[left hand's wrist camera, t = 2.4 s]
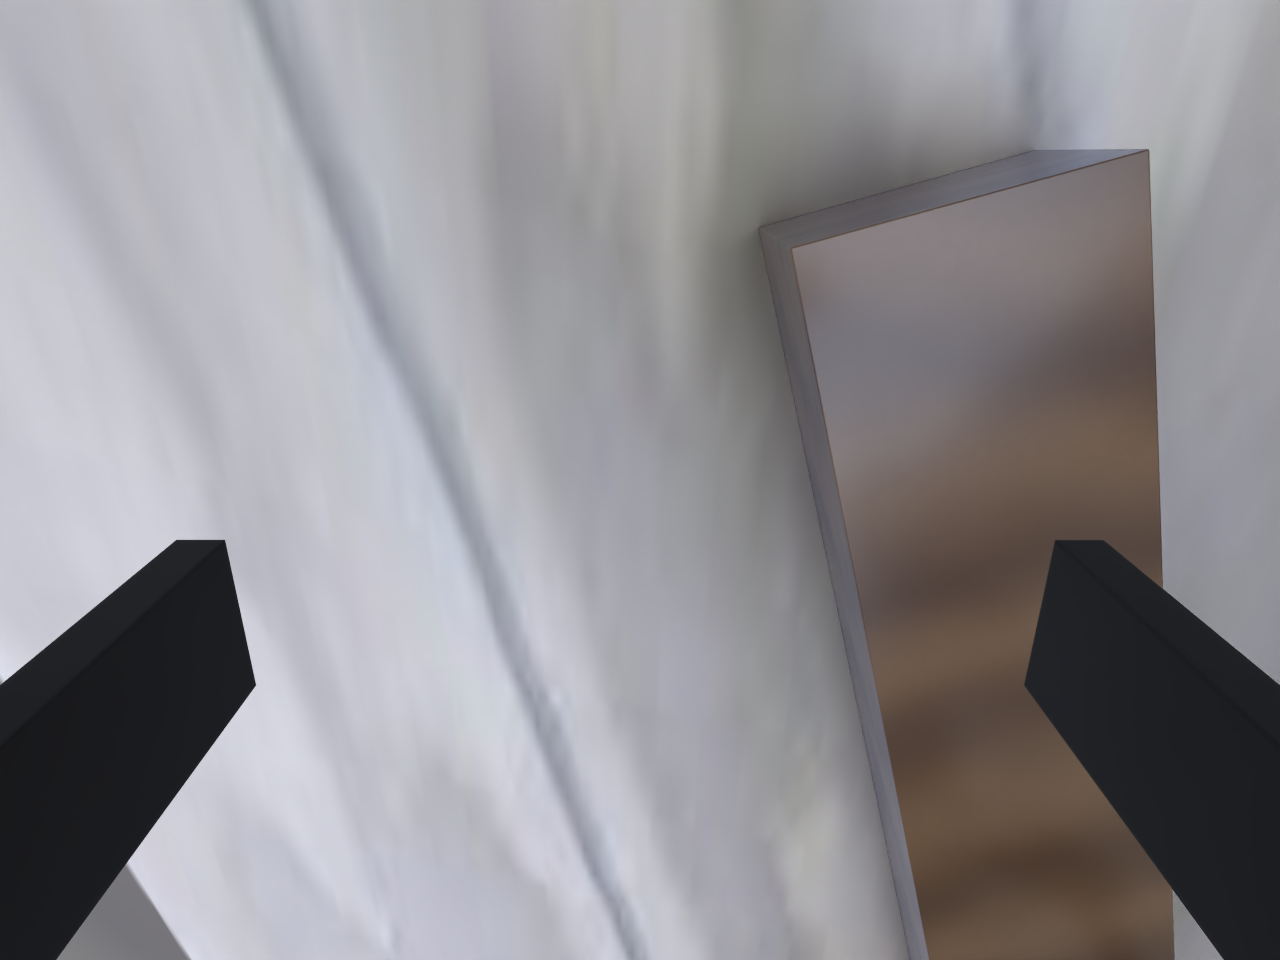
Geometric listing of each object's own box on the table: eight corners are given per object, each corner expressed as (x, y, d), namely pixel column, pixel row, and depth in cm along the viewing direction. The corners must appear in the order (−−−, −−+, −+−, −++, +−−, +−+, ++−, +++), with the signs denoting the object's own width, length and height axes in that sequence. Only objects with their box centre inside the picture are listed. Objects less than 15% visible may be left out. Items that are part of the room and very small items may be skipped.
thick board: (758, 227, 30) (790, 247, 24) (1035, 149, 29) (1149, 148, 22) (939, 1104, 49) (985, 1248, 43) (1110, 1076, 48) (1183, 1220, 42)
